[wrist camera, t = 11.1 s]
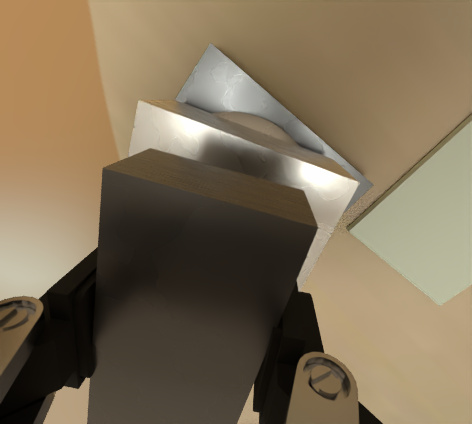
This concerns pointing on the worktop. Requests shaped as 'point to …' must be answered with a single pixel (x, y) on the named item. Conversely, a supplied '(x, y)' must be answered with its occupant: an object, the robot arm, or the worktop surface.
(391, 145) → the worktop surface
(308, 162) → the grey boxy piece
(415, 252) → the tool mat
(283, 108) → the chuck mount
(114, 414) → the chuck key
